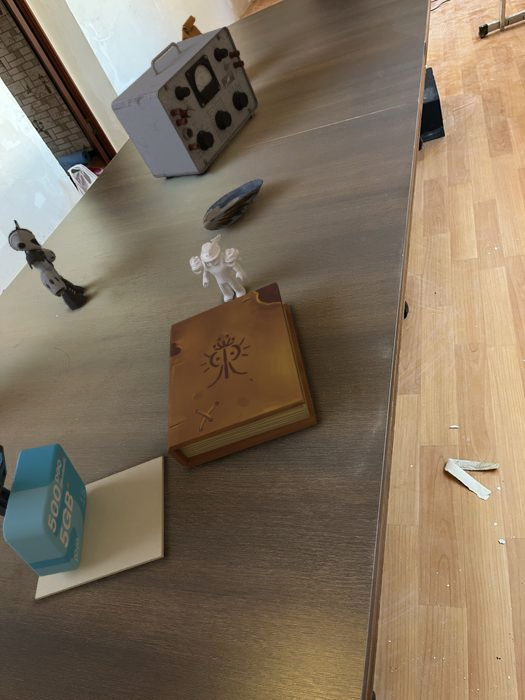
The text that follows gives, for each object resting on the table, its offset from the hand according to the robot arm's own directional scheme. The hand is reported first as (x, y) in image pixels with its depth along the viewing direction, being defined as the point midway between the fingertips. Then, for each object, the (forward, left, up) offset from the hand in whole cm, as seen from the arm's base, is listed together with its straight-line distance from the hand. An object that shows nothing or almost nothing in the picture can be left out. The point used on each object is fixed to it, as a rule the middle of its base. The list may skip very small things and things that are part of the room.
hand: (12, 507), depth 59 cm
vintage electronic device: (+29, +101, -10) cm, 106 cm away
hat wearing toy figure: (+28, +35, -10) cm, 47 cm away
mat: (+5, 0, -10) cm, 12 cm away
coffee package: (+34, +138, -10) cm, 143 cm away
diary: (+27, +15, -10) cm, 33 cm away
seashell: (+32, +60, -10) cm, 69 cm away
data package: (+1, 0, -9) cm, 9 cm away
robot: (-8, +57, -10) cm, 59 cm away
